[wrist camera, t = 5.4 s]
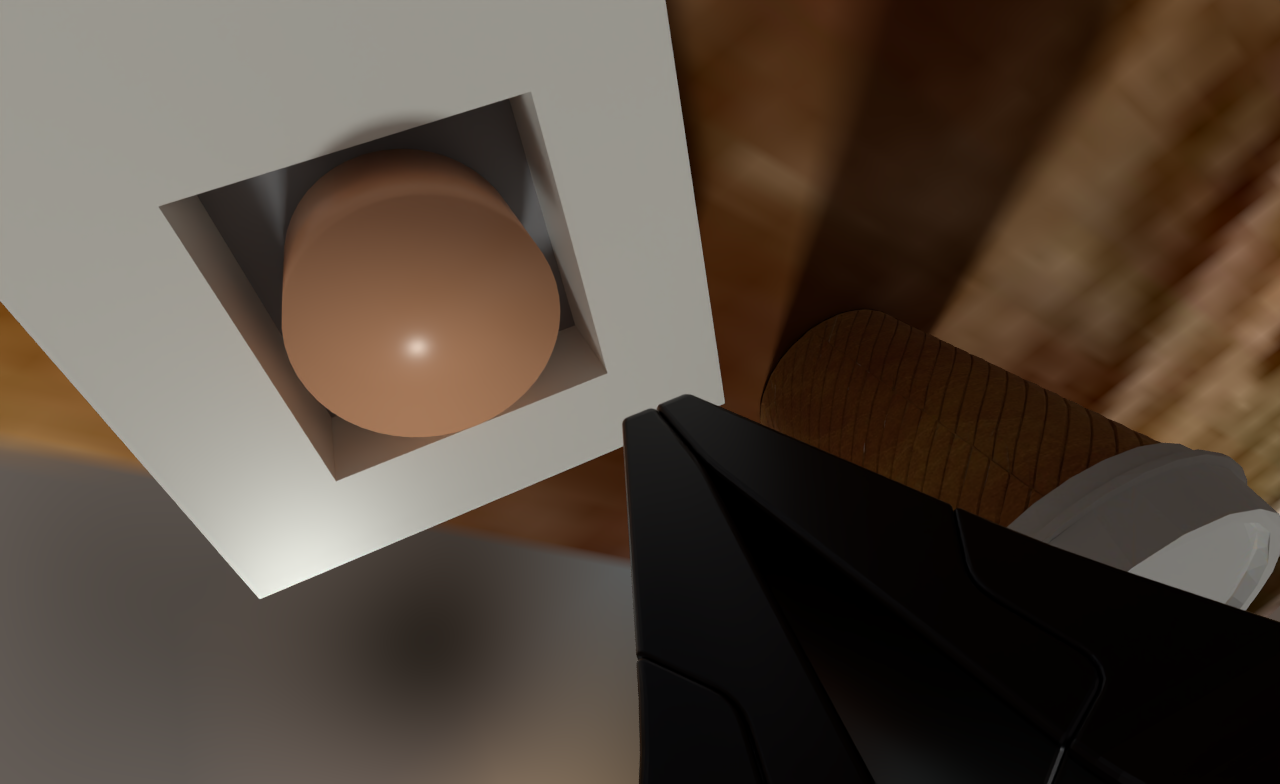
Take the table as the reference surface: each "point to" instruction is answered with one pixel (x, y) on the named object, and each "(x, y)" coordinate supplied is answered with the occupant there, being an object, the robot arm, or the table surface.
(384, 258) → the terracotta button
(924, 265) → the table surface
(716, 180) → the table surface
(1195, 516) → the disposable coffee cup
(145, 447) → the button panel
